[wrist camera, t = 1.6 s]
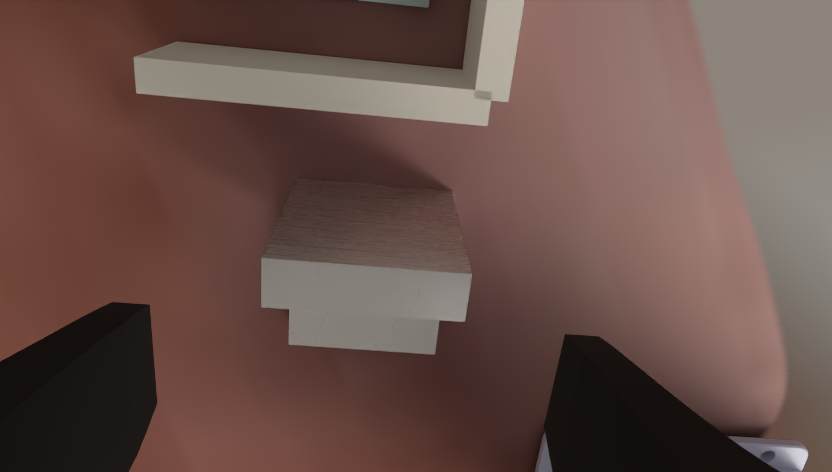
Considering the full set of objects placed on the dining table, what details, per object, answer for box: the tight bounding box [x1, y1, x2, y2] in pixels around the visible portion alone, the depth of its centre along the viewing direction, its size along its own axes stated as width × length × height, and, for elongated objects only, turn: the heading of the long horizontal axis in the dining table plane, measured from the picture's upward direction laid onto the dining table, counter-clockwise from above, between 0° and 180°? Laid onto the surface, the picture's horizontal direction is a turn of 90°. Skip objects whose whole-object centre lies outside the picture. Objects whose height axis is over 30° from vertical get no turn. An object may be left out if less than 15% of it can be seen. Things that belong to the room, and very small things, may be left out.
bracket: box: [261, 178, 472, 355], centre depth 17 cm, size 5×4×6 cm
